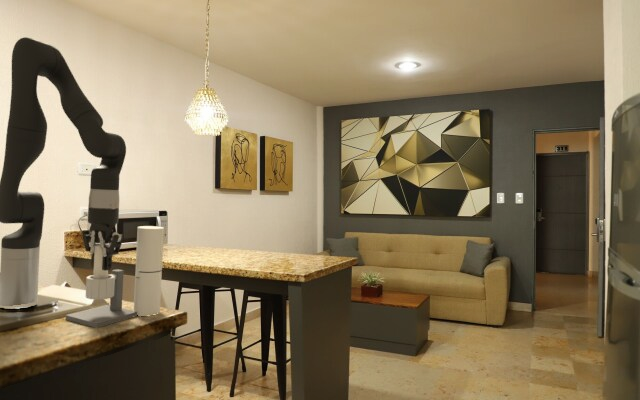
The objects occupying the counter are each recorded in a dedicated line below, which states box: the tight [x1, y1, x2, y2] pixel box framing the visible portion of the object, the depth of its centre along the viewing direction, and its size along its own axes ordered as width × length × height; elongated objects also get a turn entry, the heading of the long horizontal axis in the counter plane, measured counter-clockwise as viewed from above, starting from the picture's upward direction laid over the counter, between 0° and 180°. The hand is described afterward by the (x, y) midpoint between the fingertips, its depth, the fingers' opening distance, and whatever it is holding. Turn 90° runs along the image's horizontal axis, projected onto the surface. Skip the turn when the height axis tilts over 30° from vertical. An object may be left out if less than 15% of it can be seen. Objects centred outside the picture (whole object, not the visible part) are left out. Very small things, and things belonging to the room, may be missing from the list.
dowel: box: [93, 245, 109, 279], centre depth 122 cm, size 4×4×10 cm
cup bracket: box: [65, 268, 138, 329], centre depth 124 cm, size 12×13×12 cm
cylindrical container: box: [133, 225, 165, 317], centre depth 130 cm, size 7×7×25 cm
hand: (101, 268), depth 122 cm, fingers closed on dowel, 3 cm apart
